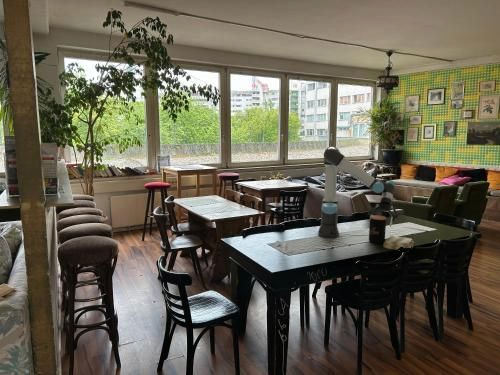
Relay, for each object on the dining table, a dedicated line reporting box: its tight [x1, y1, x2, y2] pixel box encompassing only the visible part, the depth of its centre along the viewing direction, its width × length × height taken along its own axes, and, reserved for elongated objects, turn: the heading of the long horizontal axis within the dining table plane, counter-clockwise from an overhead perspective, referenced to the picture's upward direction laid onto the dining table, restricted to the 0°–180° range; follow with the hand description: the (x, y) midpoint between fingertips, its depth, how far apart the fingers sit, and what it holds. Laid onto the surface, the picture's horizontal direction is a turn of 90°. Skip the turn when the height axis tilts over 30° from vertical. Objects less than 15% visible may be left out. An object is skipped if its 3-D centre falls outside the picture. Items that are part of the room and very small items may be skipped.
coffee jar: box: [368, 214, 387, 245], centre depth 254 cm, size 11×11×18 cm
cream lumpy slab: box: [383, 235, 415, 251], centre depth 246 cm, size 16×16×5 cm
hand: (380, 224), depth 255 cm, fingers open, 13 cm apart
